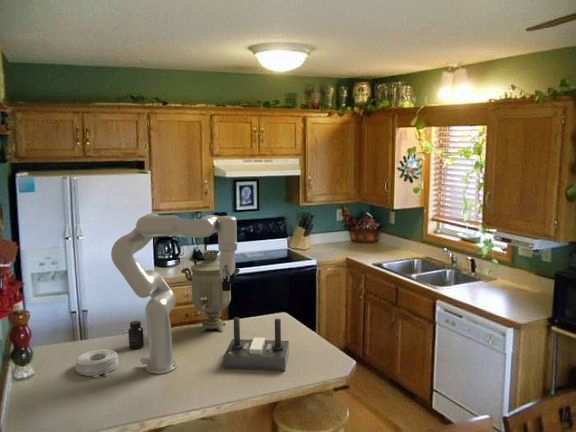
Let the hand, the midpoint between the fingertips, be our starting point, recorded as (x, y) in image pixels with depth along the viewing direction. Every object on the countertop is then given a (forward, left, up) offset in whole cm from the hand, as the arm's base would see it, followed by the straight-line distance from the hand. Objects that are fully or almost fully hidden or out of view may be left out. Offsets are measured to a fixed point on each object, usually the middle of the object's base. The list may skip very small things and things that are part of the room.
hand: (228, 287), depth 219 cm
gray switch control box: (+10, +10, -36) cm, 39 cm away
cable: (-57, -2, -37) cm, 68 cm away
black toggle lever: (+19, +10, -30) cm, 37 cm away
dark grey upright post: (+1, +10, -30) cm, 32 cm away
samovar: (-20, +45, -36) cm, 61 cm away
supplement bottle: (-49, +21, -36) cm, 65 cm away
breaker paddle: (+10, +10, -35) cm, 38 cm away
